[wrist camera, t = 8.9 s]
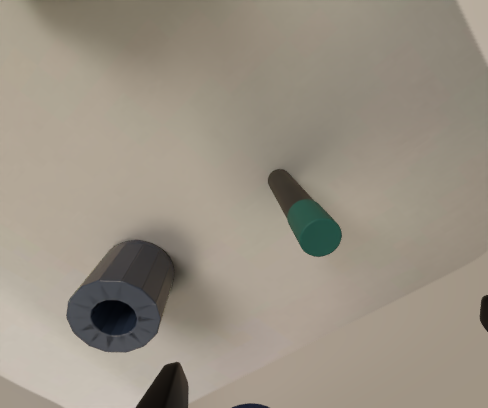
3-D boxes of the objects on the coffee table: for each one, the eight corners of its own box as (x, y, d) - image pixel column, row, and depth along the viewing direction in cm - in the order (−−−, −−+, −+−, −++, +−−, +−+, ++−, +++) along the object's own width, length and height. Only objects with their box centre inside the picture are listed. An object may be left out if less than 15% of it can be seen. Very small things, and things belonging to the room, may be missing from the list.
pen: (294, 172, 19) (349, 225, 11) (285, 194, 20) (331, 261, 11) (271, 165, 19) (309, 213, 10) (263, 187, 19) (293, 251, 11)
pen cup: (181, 249, 21) (168, 291, 16) (166, 306, 22) (150, 360, 18) (108, 231, 20) (71, 270, 15) (98, 292, 21) (61, 344, 17)
